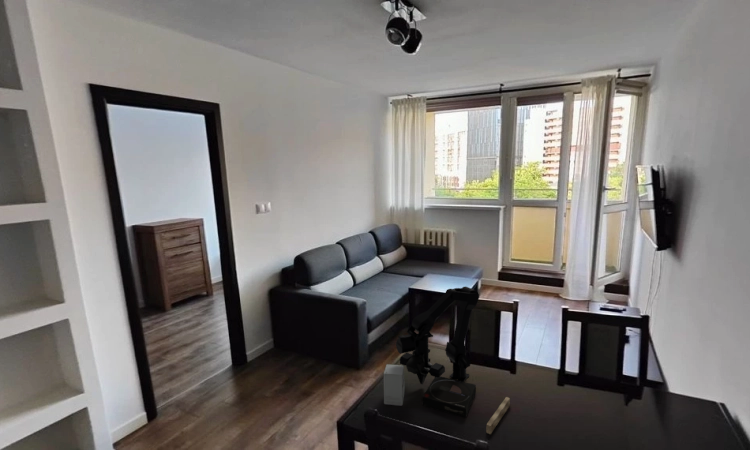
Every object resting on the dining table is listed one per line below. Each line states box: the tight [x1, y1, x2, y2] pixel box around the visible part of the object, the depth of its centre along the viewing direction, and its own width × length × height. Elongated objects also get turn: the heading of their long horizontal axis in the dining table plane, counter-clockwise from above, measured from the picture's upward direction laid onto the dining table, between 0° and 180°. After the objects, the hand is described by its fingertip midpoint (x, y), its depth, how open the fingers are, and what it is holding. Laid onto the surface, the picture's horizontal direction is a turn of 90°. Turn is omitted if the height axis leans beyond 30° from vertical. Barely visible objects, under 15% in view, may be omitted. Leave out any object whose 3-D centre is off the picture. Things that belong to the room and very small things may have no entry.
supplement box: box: [383, 363, 405, 406], centre depth 137 cm, size 7×7×13 cm
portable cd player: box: [422, 375, 477, 418], centre depth 137 cm, size 16×17×4 cm
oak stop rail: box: [485, 396, 511, 435], centre depth 125 cm, size 19×1×3 cm, turn 141°
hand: (421, 383), depth 145 cm, fingers closed
